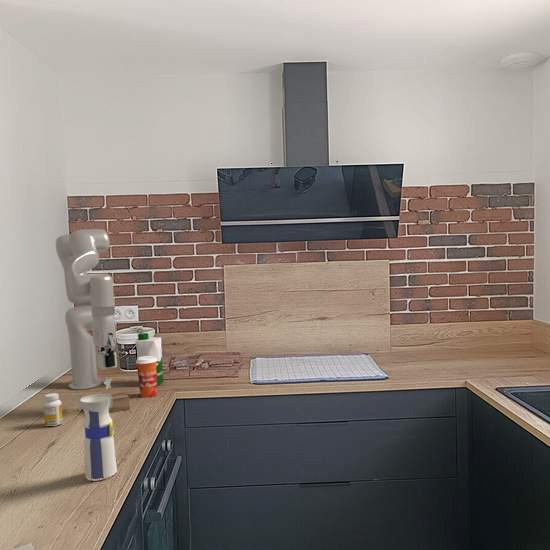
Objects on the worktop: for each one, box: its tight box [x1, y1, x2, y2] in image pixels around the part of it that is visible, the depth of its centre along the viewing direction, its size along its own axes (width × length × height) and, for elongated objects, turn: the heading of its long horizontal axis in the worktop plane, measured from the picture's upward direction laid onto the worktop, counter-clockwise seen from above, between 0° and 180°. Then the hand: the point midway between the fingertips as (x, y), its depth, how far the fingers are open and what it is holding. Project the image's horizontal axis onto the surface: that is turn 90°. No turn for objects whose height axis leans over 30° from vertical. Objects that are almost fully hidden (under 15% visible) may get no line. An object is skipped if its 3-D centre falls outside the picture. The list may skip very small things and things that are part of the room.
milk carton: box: [134, 332, 164, 386], centre depth 242 cm, size 9×9×20 cm
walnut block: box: [102, 390, 131, 414], centre depth 210 cm, size 10×10×5 cm
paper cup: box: [135, 356, 158, 398], centre depth 225 cm, size 8×8×14 cm
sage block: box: [96, 351, 118, 370], centre depth 208 cm, size 5×5×5 cm
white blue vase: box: [78, 376, 118, 479], centre depth 152 cm, size 8×8×25 cm
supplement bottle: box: [43, 392, 64, 426], centre depth 195 cm, size 5×5×10 cm
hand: (107, 364), depth 209 cm, fingers closed on sage block, 5 cm apart
